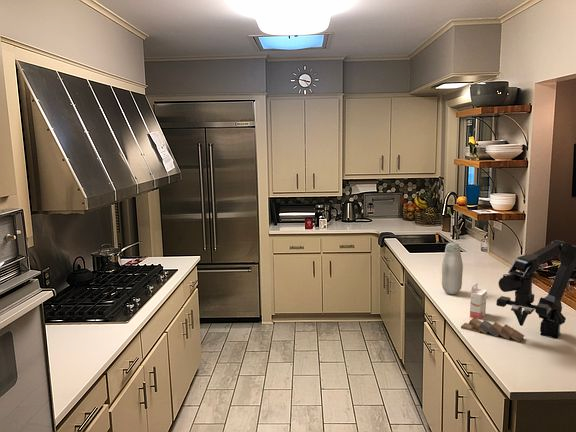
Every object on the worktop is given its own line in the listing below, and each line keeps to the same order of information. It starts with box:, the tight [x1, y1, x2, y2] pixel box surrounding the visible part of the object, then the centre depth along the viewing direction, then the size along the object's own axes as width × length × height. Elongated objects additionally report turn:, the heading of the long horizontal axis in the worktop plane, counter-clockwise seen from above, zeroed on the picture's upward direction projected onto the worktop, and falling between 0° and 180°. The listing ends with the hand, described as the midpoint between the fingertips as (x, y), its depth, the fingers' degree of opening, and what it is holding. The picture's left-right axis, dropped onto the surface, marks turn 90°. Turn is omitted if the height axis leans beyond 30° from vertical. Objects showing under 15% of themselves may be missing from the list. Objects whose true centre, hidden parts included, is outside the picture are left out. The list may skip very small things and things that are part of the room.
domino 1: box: [460, 322, 482, 334], centre depth 202 cm, size 2×5×8 cm
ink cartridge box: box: [469, 282, 488, 320], centre depth 215 cm, size 9×5×15 cm, turn 141°
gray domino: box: [479, 319, 501, 338], centre depth 196 cm, size 2×5×8 cm
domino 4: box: [501, 323, 525, 343], centre depth 191 cm, size 2×5×8 cm
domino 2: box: [468, 317, 489, 335], centre depth 199 cm, size 2×5×8 cm
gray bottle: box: [441, 241, 464, 295], centre depth 246 cm, size 10×10×28 cm
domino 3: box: [490, 321, 512, 341], centre depth 194 cm, size 2×5×8 cm
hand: (521, 325), depth 188 cm, fingers closed
